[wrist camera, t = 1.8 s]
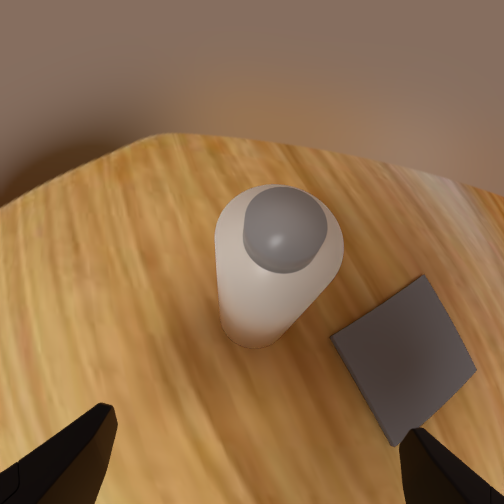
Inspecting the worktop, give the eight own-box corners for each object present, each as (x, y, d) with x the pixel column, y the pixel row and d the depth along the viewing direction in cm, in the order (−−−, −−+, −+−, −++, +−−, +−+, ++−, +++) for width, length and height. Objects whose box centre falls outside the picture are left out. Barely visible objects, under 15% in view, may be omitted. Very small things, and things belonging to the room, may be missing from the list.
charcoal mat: (472, 371, 21) (476, 370, 21) (391, 446, 19) (394, 446, 18) (420, 276, 25) (424, 274, 24) (329, 337, 22) (332, 335, 22)
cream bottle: (300, 328, 22) (380, 251, 10) (239, 360, 21) (257, 318, 9) (267, 272, 24) (306, 151, 12) (208, 300, 23) (191, 192, 11)
